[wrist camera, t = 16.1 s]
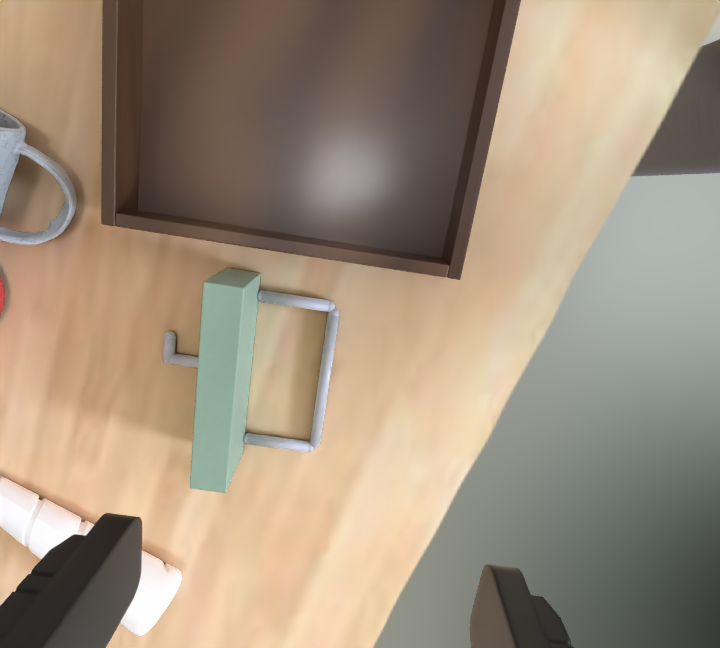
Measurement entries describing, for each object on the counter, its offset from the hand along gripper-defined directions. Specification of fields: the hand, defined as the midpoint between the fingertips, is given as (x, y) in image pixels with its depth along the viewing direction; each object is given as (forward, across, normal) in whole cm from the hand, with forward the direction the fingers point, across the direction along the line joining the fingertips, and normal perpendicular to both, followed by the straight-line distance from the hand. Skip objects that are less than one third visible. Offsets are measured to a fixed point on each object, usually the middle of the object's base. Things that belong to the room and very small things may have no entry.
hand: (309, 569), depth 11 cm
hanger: (+23, +8, +5) cm, 25 cm away
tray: (+23, +4, -14) cm, 27 cm away
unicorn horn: (+23, +21, +20) cm, 37 cm away
